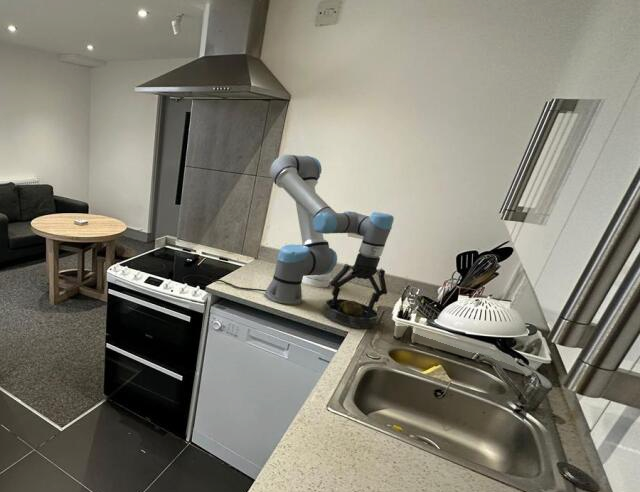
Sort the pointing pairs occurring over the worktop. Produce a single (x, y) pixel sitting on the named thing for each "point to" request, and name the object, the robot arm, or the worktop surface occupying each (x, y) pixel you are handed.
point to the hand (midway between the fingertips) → (351, 306)
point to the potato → (351, 308)
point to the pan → (363, 321)
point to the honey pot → (317, 280)
